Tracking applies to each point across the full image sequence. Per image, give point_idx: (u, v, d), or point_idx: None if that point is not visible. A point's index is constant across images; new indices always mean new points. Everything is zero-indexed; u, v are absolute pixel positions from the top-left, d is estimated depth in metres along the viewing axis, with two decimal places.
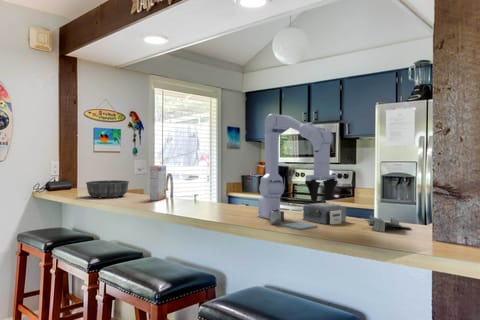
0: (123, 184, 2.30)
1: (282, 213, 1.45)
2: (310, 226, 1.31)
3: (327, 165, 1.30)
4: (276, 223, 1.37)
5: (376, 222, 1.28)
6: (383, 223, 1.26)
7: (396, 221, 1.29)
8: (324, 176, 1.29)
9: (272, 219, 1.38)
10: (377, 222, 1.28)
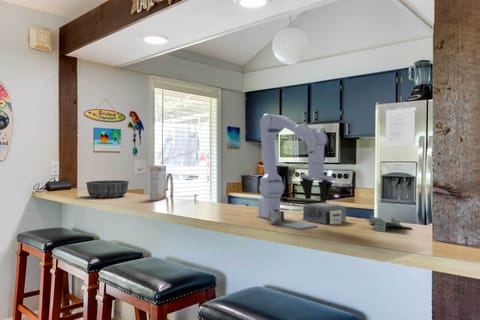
0: (123, 184, 2.30)
1: (282, 213, 1.45)
2: (310, 226, 1.31)
3: (310, 165, 1.34)
4: (276, 223, 1.37)
5: (377, 222, 1.28)
6: (384, 223, 1.27)
7: (397, 221, 1.30)
8: None
9: (272, 219, 1.38)
10: (378, 222, 1.28)
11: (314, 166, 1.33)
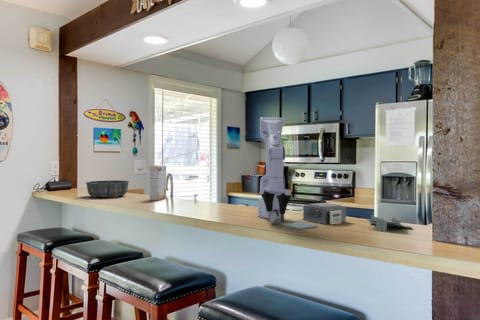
0: (123, 184, 2.30)
1: None
2: (310, 226, 1.31)
3: (270, 179, 1.38)
4: (276, 223, 1.37)
5: (378, 222, 1.29)
6: (385, 223, 1.27)
7: (397, 221, 1.30)
8: None
9: (272, 219, 1.38)
10: (379, 222, 1.28)
11: (273, 180, 1.37)
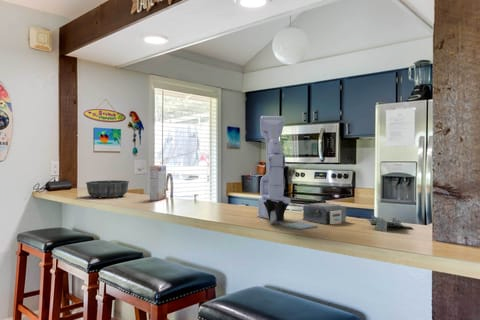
0: (123, 184, 2.30)
1: None
2: (310, 226, 1.31)
3: (270, 187, 1.38)
4: (276, 223, 1.37)
5: (378, 222, 1.29)
6: (385, 223, 1.27)
7: (398, 221, 1.30)
8: (267, 197, 1.39)
9: (272, 219, 1.38)
10: (379, 222, 1.29)
11: (273, 188, 1.37)
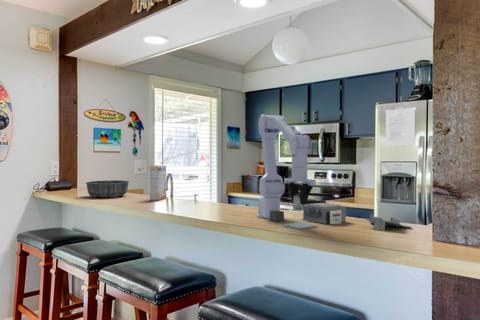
0: (123, 184, 2.30)
1: (282, 213, 1.45)
2: (310, 226, 1.31)
3: (293, 169, 1.33)
4: (299, 208, 1.32)
5: (376, 221, 1.30)
6: (383, 222, 1.28)
7: (396, 220, 1.31)
8: None
9: (295, 204, 1.33)
10: (377, 221, 1.30)
11: (297, 170, 1.32)
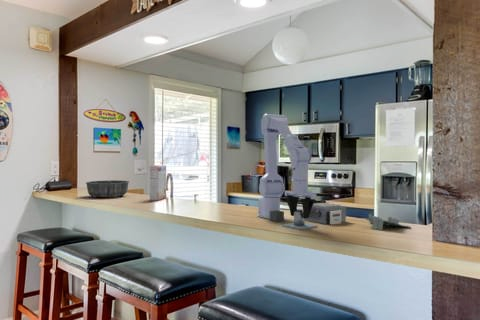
0: (123, 184, 2.30)
1: (282, 213, 1.45)
2: (310, 226, 1.31)
3: (294, 182, 1.33)
4: (300, 224, 1.32)
5: (374, 220, 1.31)
6: (381, 222, 1.30)
7: (395, 220, 1.32)
8: None
9: (296, 220, 1.33)
10: (375, 221, 1.31)
11: (298, 183, 1.32)
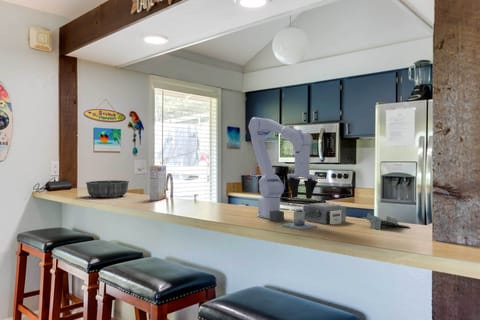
0: (123, 184, 2.30)
1: (282, 213, 1.45)
2: (310, 226, 1.31)
3: (296, 165, 1.40)
4: (300, 224, 1.32)
5: (373, 220, 1.32)
6: (379, 221, 1.31)
7: (393, 219, 1.33)
8: (294, 175, 1.42)
9: (296, 220, 1.33)
10: (374, 220, 1.32)
11: (300, 165, 1.39)
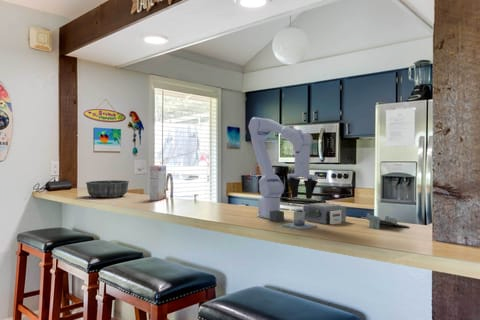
0: (123, 184, 2.30)
1: (282, 213, 1.45)
2: (310, 226, 1.31)
3: (296, 165, 1.40)
4: (300, 224, 1.32)
5: (372, 220, 1.33)
6: (378, 221, 1.32)
7: (393, 219, 1.33)
8: (294, 175, 1.42)
9: (296, 220, 1.33)
10: (372, 220, 1.33)
11: (300, 165, 1.39)
